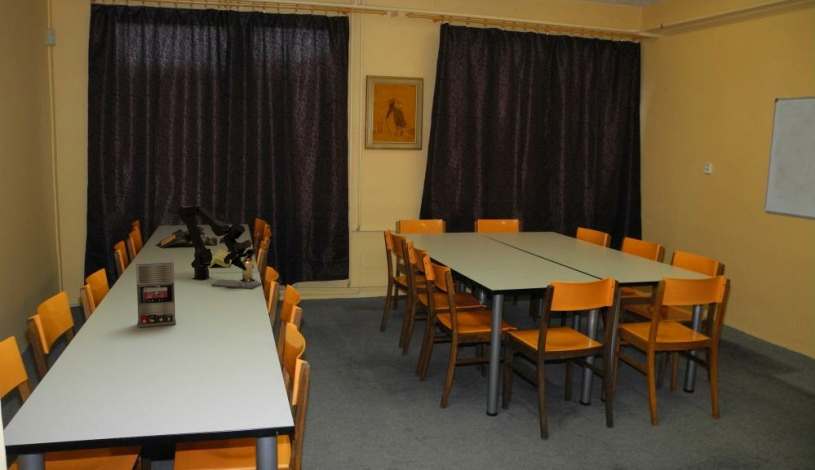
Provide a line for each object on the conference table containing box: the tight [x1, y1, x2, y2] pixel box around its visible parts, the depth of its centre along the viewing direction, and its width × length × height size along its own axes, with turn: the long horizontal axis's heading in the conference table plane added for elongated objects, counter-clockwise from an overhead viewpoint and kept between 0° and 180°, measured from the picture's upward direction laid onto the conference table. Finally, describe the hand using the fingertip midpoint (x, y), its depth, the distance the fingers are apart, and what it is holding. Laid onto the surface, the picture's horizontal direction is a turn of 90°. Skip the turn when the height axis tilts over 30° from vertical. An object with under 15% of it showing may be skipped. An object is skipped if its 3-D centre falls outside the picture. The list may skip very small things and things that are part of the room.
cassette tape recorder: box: [135, 259, 177, 328], centre depth 248 cm, size 14×6×25 cm, turn 114°
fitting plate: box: [210, 278, 263, 291], centre depth 316 cm, size 22×11×3 cm, turn 78°
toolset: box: [155, 225, 219, 249], centre depth 425 cm, size 40×20×27 cm
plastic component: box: [208, 248, 232, 269], centre depth 365 cm, size 20×7×10 cm
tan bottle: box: [241, 258, 254, 282], centre depth 314 cm, size 5×5×12 cm
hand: (249, 269), depth 313 cm, fingers closed on tan bottle, 5 cm apart
